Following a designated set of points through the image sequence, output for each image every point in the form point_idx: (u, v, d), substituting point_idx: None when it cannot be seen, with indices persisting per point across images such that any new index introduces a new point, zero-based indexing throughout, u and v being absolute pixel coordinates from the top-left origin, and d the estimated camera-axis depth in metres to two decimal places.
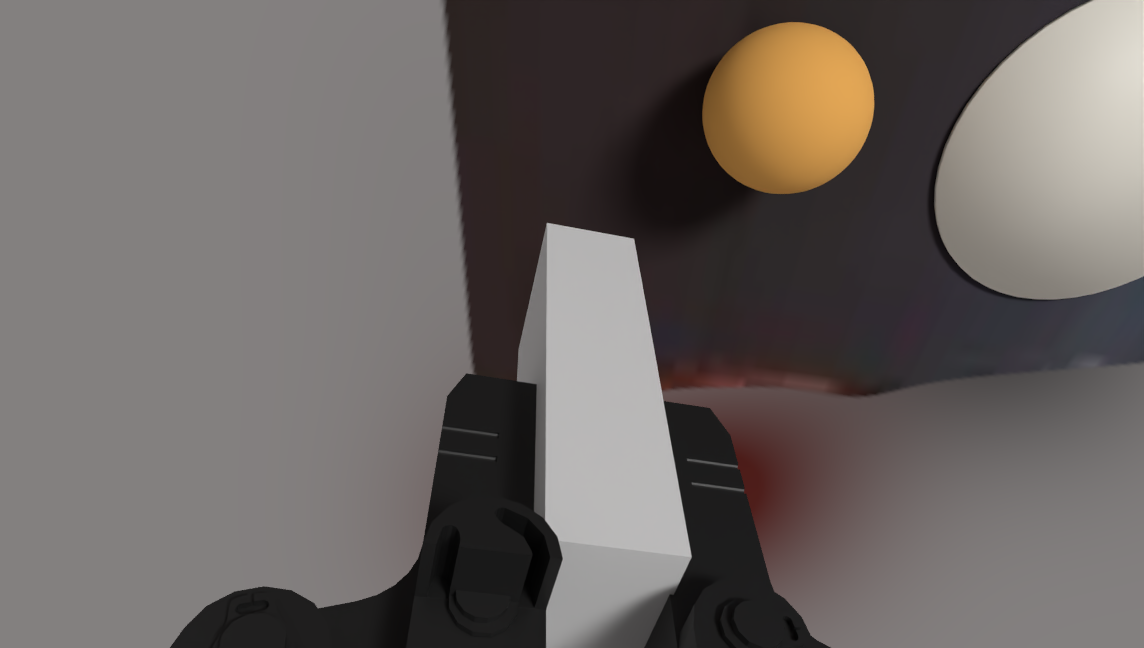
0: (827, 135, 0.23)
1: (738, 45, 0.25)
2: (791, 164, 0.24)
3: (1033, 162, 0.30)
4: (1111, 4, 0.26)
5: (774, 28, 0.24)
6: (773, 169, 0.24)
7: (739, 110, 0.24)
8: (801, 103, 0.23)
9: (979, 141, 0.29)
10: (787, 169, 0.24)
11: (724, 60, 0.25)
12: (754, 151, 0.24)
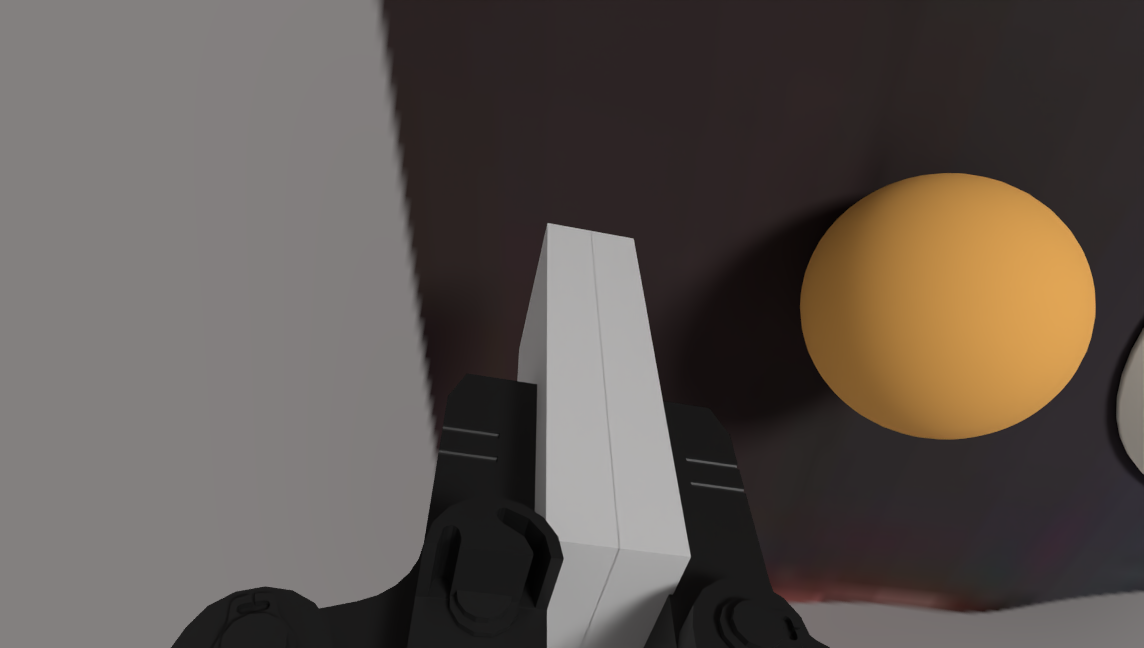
0: (1030, 381, 0.14)
1: (869, 213, 0.15)
2: (962, 419, 0.14)
3: None
4: None
5: (933, 190, 0.15)
6: (929, 422, 0.15)
7: (878, 332, 0.14)
8: (991, 333, 0.13)
9: None
10: (953, 424, 0.15)
11: (845, 235, 0.15)
12: (899, 395, 0.15)
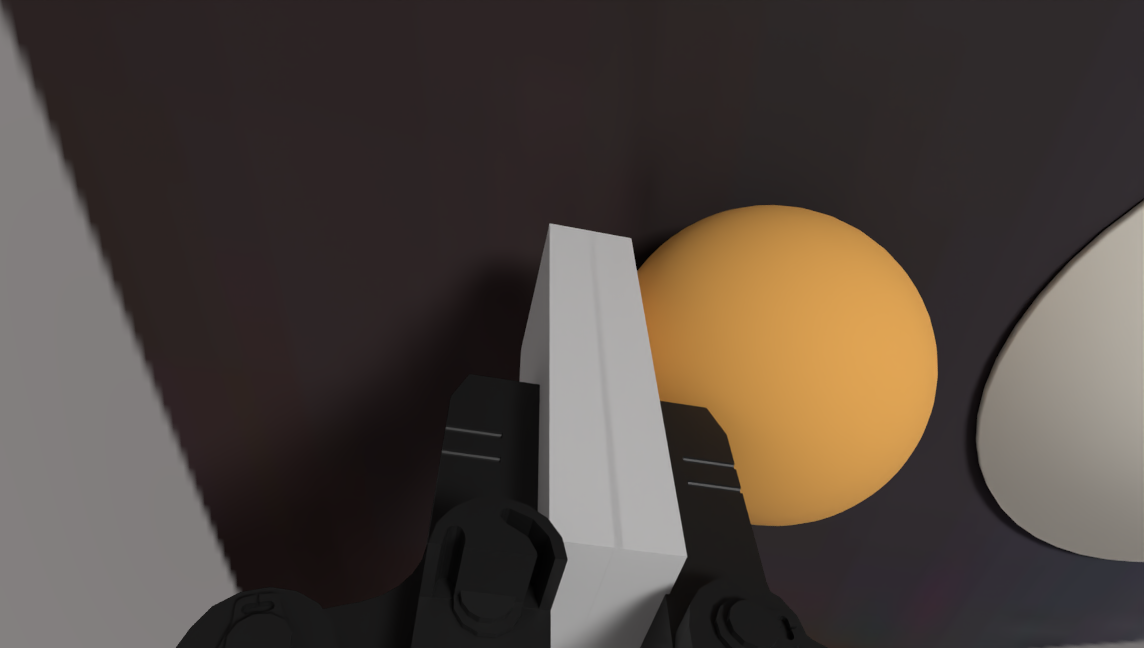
0: (883, 462, 0.11)
1: (671, 277, 0.12)
2: (815, 513, 0.12)
3: None
4: None
5: (742, 242, 0.12)
6: (778, 520, 0.12)
7: None
8: (836, 422, 0.11)
9: (1058, 354, 0.17)
10: (805, 518, 0.12)
11: (647, 308, 0.12)
12: None
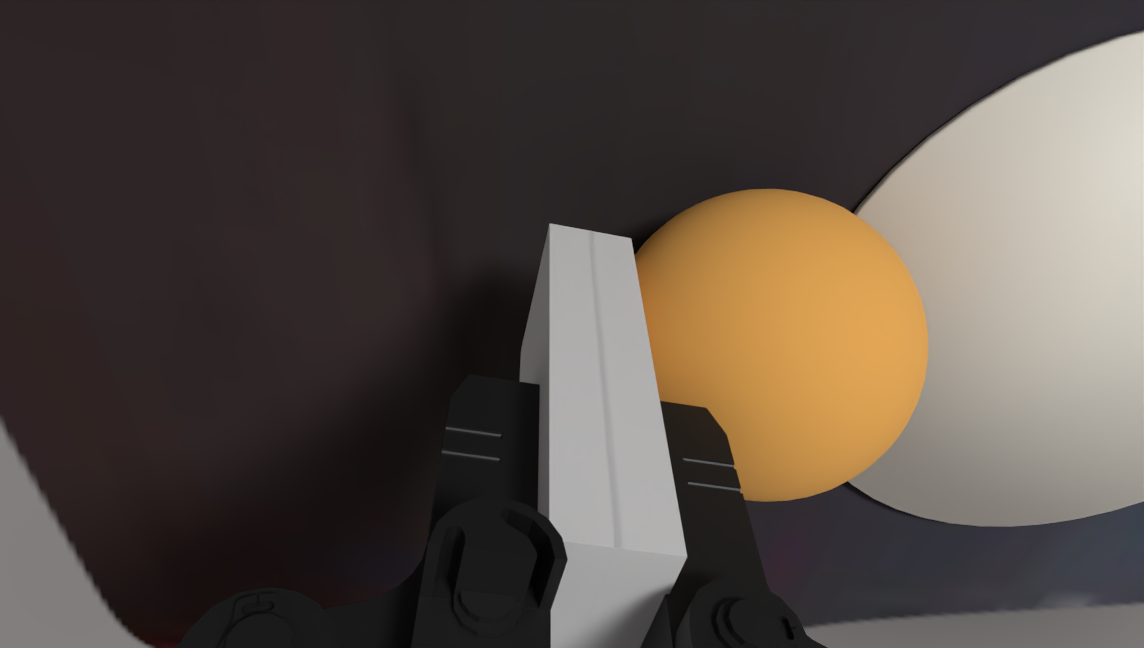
0: None
1: (700, 299, 0.12)
2: None
3: (961, 334, 0.17)
4: (1098, 69, 0.13)
5: (759, 247, 0.12)
6: (834, 487, 0.13)
7: (784, 444, 0.11)
8: (893, 393, 0.12)
9: None
10: (854, 476, 0.13)
11: (683, 337, 0.12)
12: (813, 486, 0.12)
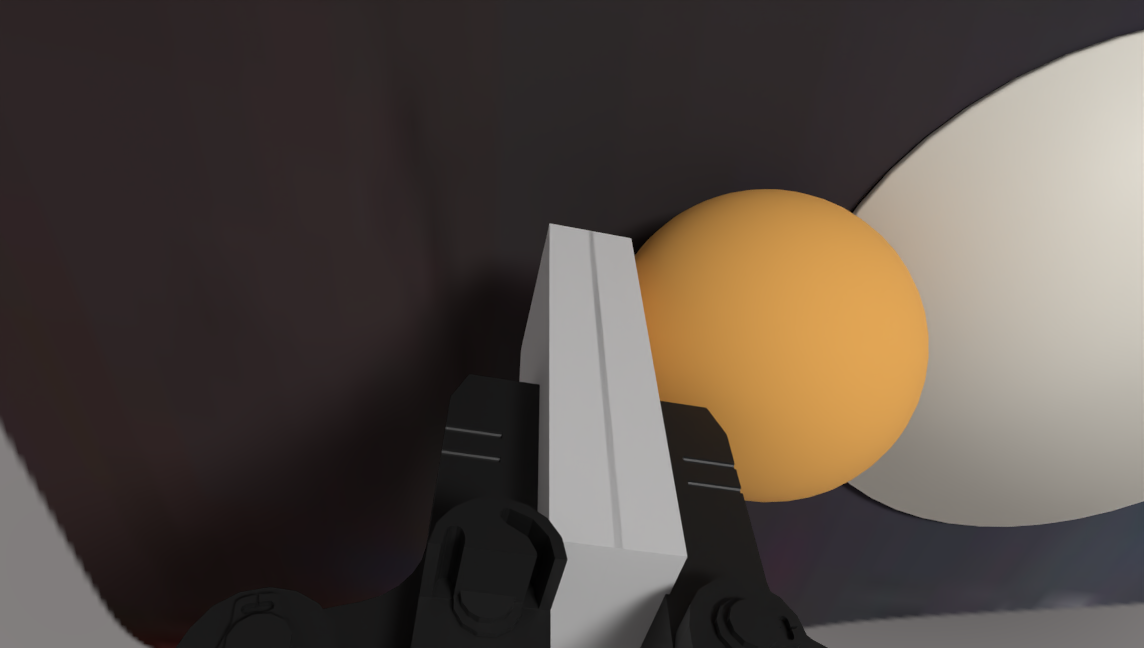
0: (915, 408, 0.13)
1: (699, 299, 0.12)
2: None
3: (960, 334, 0.17)
4: (1097, 69, 0.13)
5: (759, 247, 0.12)
6: (833, 488, 0.13)
7: (783, 445, 0.11)
8: (893, 393, 0.12)
9: None
10: (854, 477, 0.13)
11: (683, 337, 0.12)
12: (812, 487, 0.12)
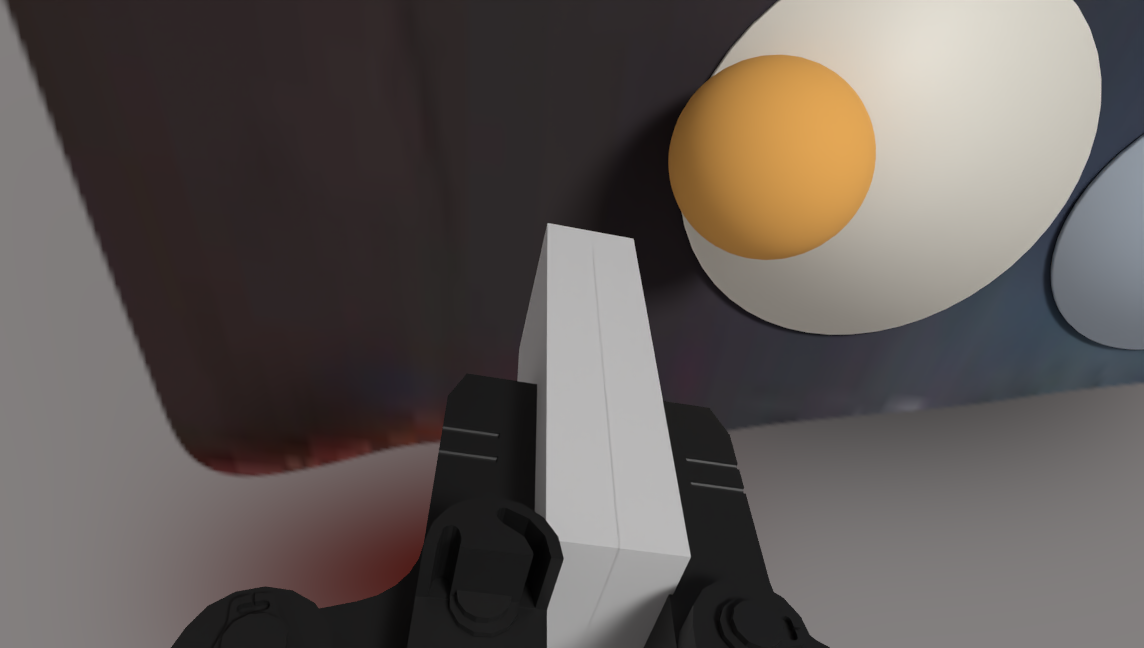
0: None
1: (835, 119, 0.19)
2: None
3: None
4: None
5: (823, 79, 0.19)
6: None
7: (873, 171, 0.20)
8: None
9: None
10: None
11: (843, 144, 0.19)
12: None
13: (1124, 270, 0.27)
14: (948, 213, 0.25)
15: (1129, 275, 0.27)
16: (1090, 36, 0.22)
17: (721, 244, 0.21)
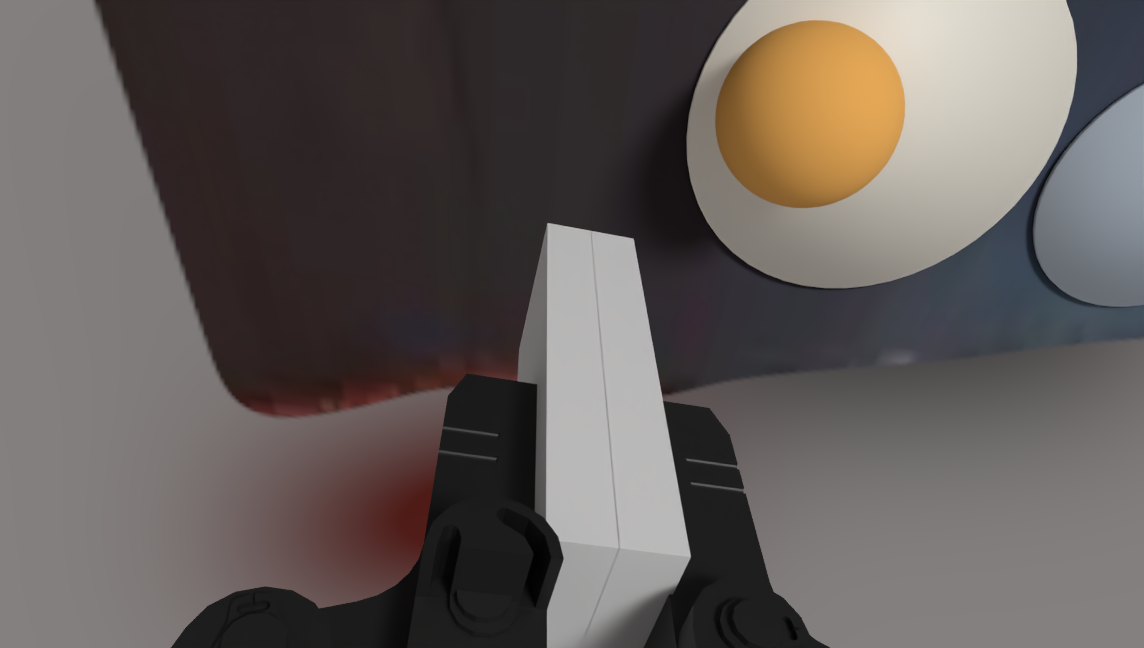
0: None
1: (888, 71, 0.21)
2: None
3: None
4: None
5: (865, 37, 0.22)
6: None
7: None
8: None
9: None
10: None
11: (897, 91, 0.21)
12: None
13: (1101, 229, 0.29)
14: (935, 172, 0.27)
15: (1106, 234, 0.29)
16: (1065, 5, 0.24)
17: (793, 199, 0.23)
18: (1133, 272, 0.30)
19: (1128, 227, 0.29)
